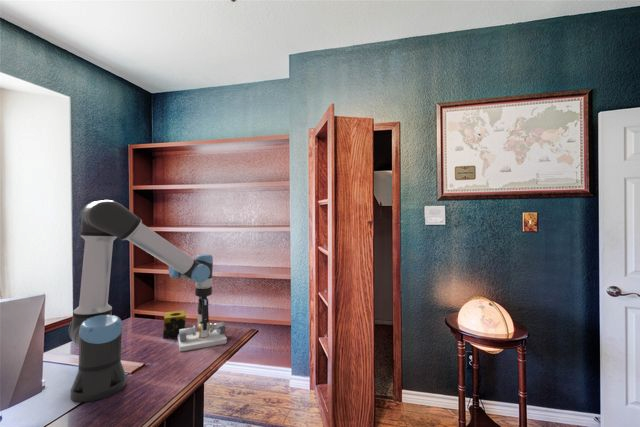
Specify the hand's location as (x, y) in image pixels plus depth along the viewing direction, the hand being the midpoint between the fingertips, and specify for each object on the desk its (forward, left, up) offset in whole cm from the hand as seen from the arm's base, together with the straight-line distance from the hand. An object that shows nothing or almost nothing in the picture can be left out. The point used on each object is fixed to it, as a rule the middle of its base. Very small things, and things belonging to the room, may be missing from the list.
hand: (202, 332), depth 142 cm
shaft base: (0, 0, -4) cm, 4 cm away
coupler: (+1, 0, -2) cm, 2 cm away
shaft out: (+7, +1, -2) cm, 7 cm away
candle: (-11, +16, -4) cm, 20 cm away
